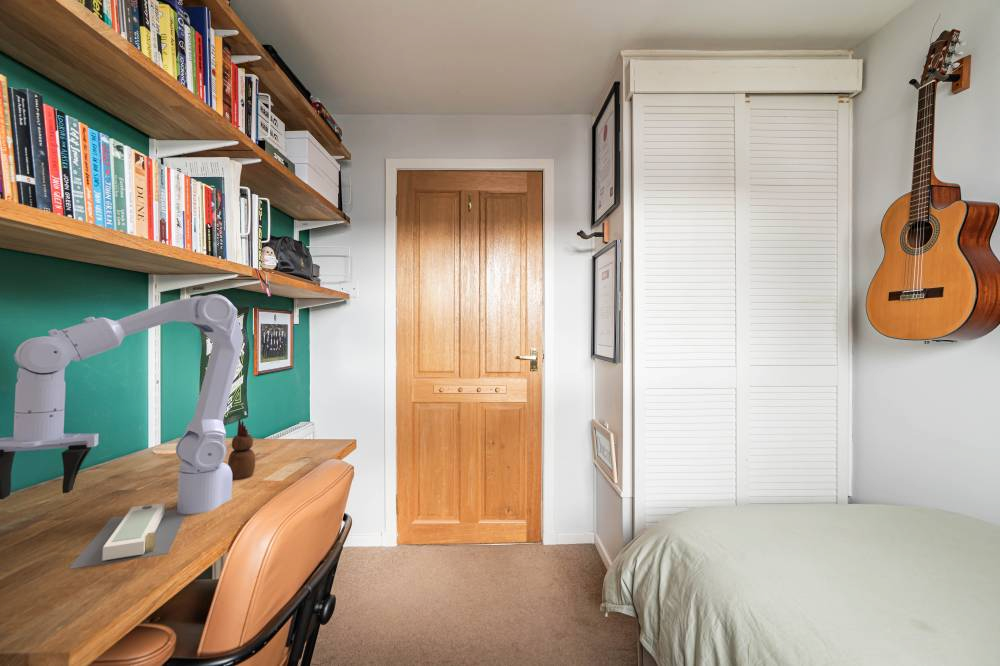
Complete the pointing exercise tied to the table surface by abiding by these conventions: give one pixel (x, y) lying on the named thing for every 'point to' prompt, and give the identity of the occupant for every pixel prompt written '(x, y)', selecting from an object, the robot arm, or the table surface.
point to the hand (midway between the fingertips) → (36, 494)
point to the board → (155, 541)
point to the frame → (133, 532)
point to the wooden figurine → (242, 454)
